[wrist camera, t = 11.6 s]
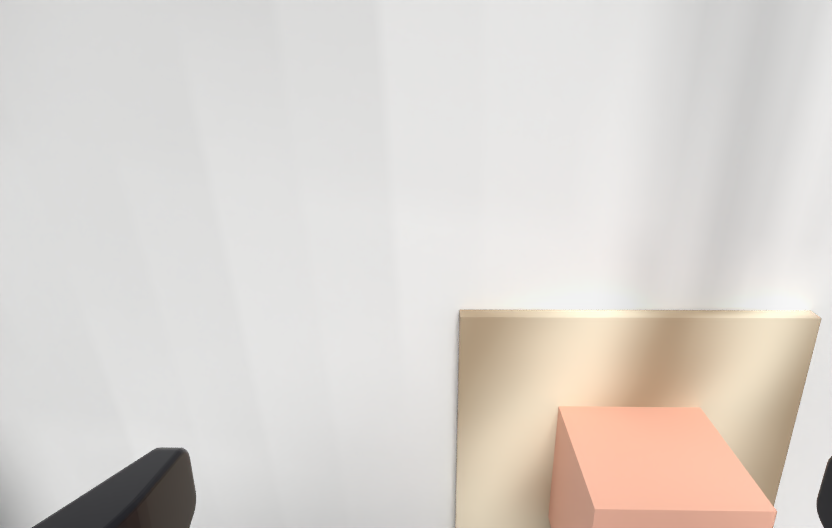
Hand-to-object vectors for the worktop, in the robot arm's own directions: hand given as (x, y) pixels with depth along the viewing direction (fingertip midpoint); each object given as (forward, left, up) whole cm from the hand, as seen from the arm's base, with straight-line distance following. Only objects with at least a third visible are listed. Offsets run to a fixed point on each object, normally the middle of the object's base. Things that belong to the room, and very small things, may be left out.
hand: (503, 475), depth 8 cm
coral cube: (-6, +9, -11) cm, 16 cm away
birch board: (-6, +9, -12) cm, 16 cm away
